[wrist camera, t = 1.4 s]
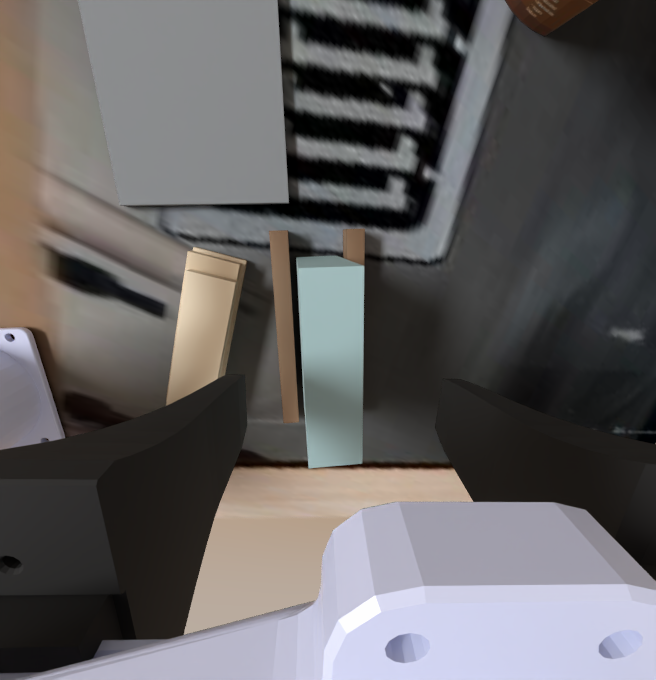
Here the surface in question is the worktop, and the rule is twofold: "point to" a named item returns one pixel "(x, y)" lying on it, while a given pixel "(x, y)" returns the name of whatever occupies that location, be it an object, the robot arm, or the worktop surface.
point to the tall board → (332, 358)
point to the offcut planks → (205, 321)
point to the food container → (547, 12)
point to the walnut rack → (284, 311)
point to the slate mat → (190, 99)
